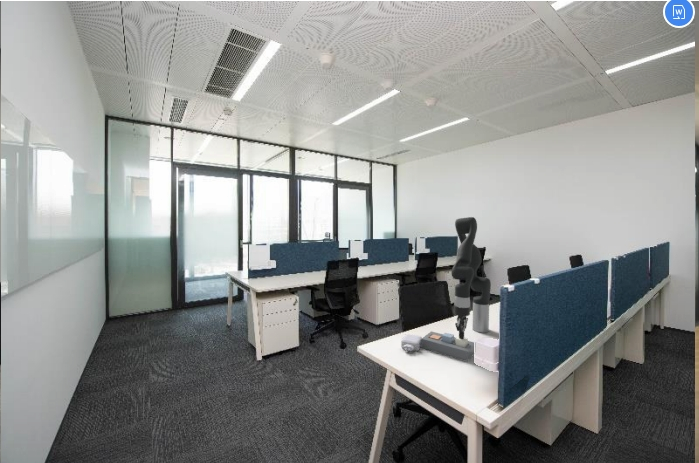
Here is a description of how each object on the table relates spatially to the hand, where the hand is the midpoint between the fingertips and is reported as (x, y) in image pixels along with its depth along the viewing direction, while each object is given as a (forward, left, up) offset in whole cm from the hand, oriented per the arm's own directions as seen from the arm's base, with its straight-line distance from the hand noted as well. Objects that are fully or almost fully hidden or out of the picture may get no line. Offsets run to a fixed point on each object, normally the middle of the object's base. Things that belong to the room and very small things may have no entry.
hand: (461, 338), depth 146 cm
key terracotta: (0, -14, -8) cm, 16 cm away
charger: (+11, -23, -9) cm, 27 cm away
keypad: (0, -7, -8) cm, 11 cm away
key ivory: (0, 0, -5) cm, 5 cm away
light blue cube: (0, -7, -5) cm, 9 cm away
